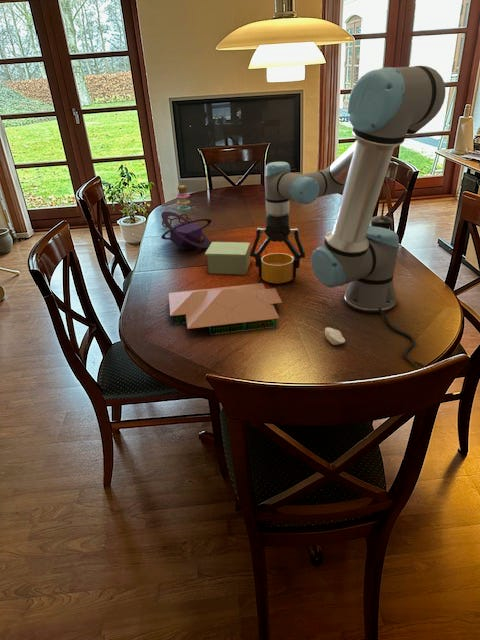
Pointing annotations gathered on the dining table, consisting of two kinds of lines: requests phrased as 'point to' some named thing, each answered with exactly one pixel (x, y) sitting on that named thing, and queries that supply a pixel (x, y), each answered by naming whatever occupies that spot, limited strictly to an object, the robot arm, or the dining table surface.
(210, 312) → the house
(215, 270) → the chest
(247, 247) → the chest lid
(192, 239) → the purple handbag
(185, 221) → the glasses
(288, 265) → the bowl
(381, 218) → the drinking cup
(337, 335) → the white rock
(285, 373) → the dining table surface
